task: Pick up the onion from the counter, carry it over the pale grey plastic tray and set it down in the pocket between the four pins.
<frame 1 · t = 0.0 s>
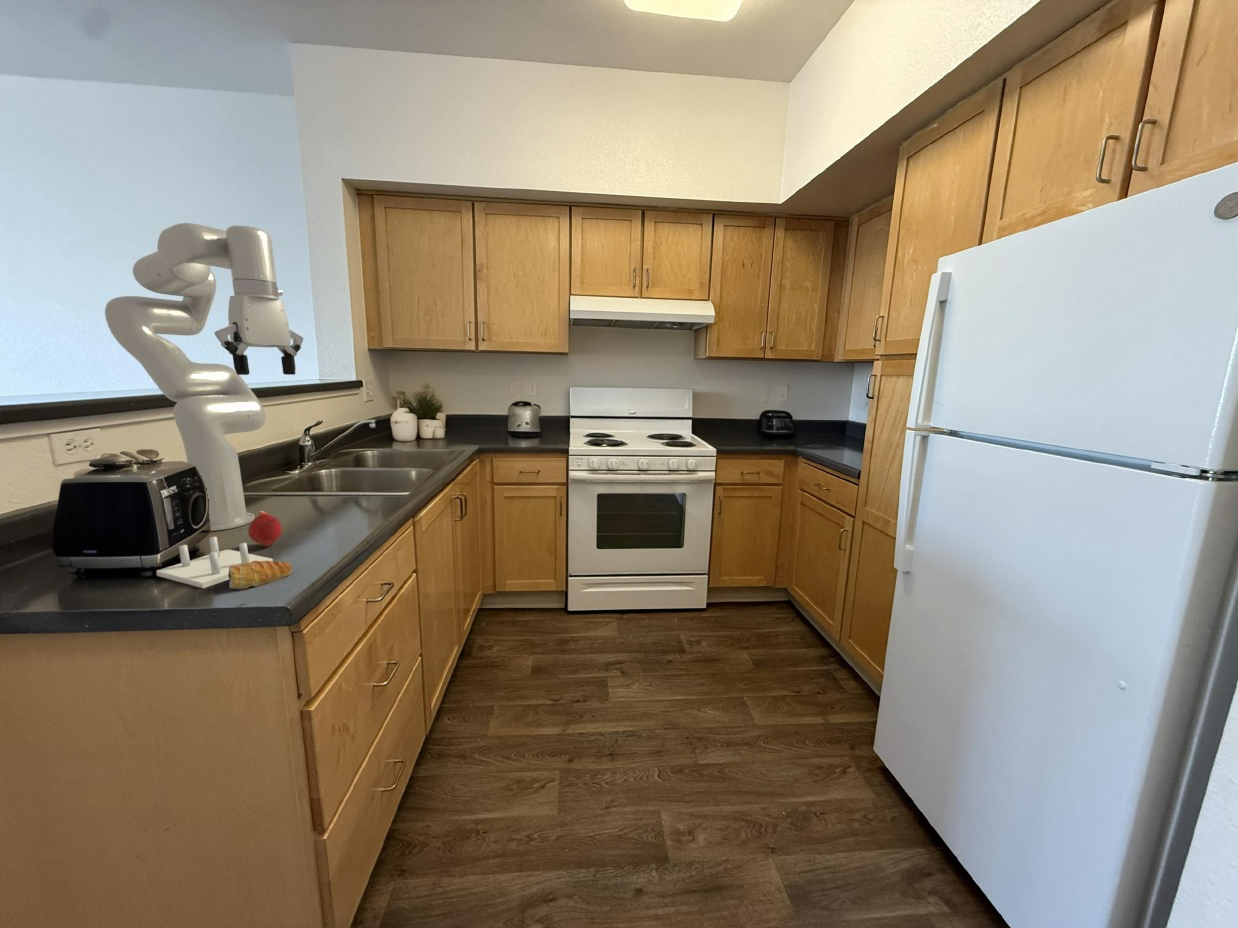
hand: (267, 374, 105), 37 cm above the countertop, tool pointing down, fingers open, 9 cm apart
pin tray: (217, 569, 93), on the countertop
onion: (267, 547, 105), on the countertop
pastry: (256, 582, 88), on the countertop
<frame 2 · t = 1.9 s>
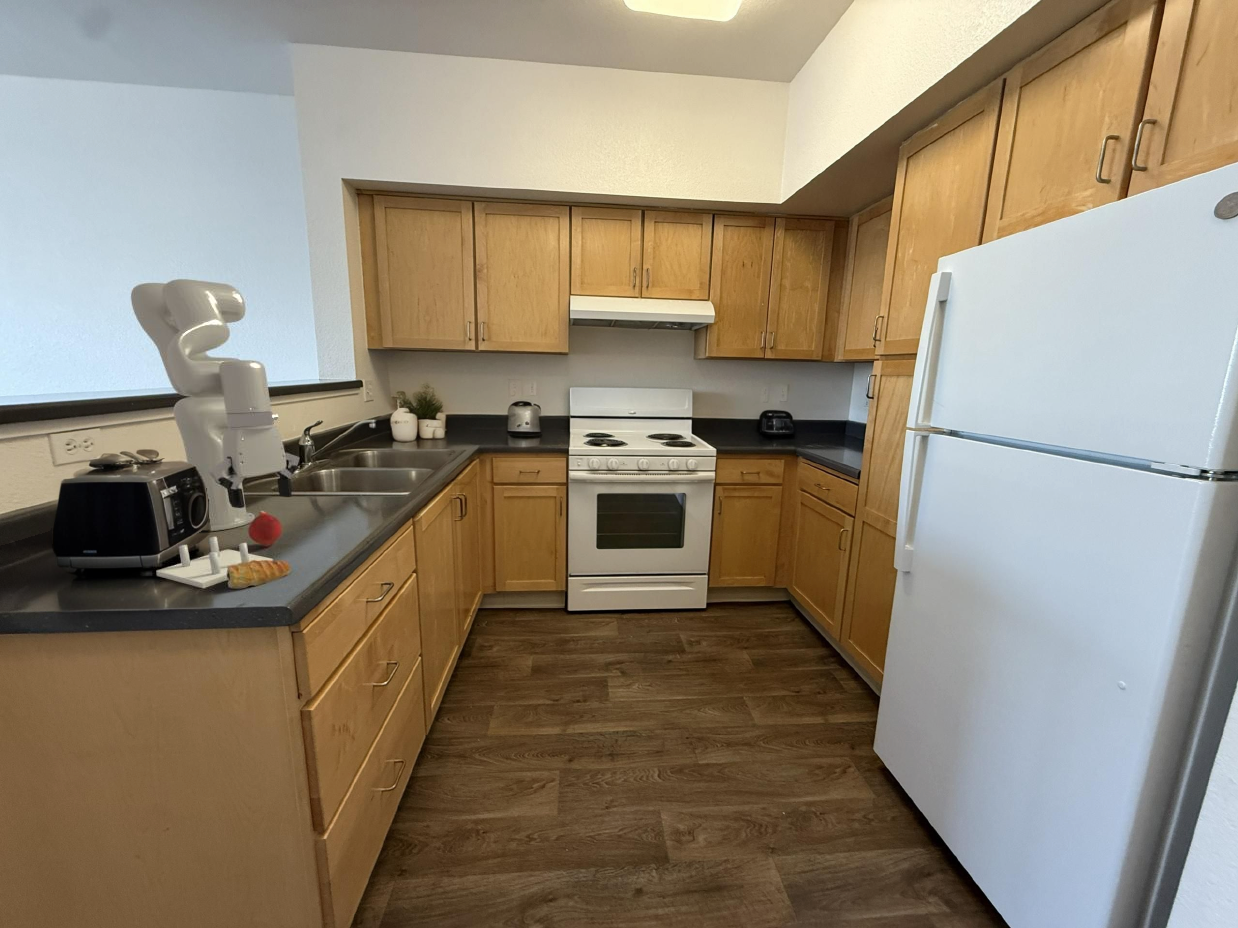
hand: (263, 501, 103), 10 cm above the countertop, tool pointing down, fingers open, 9 cm apart
nothing on the countertop moved.
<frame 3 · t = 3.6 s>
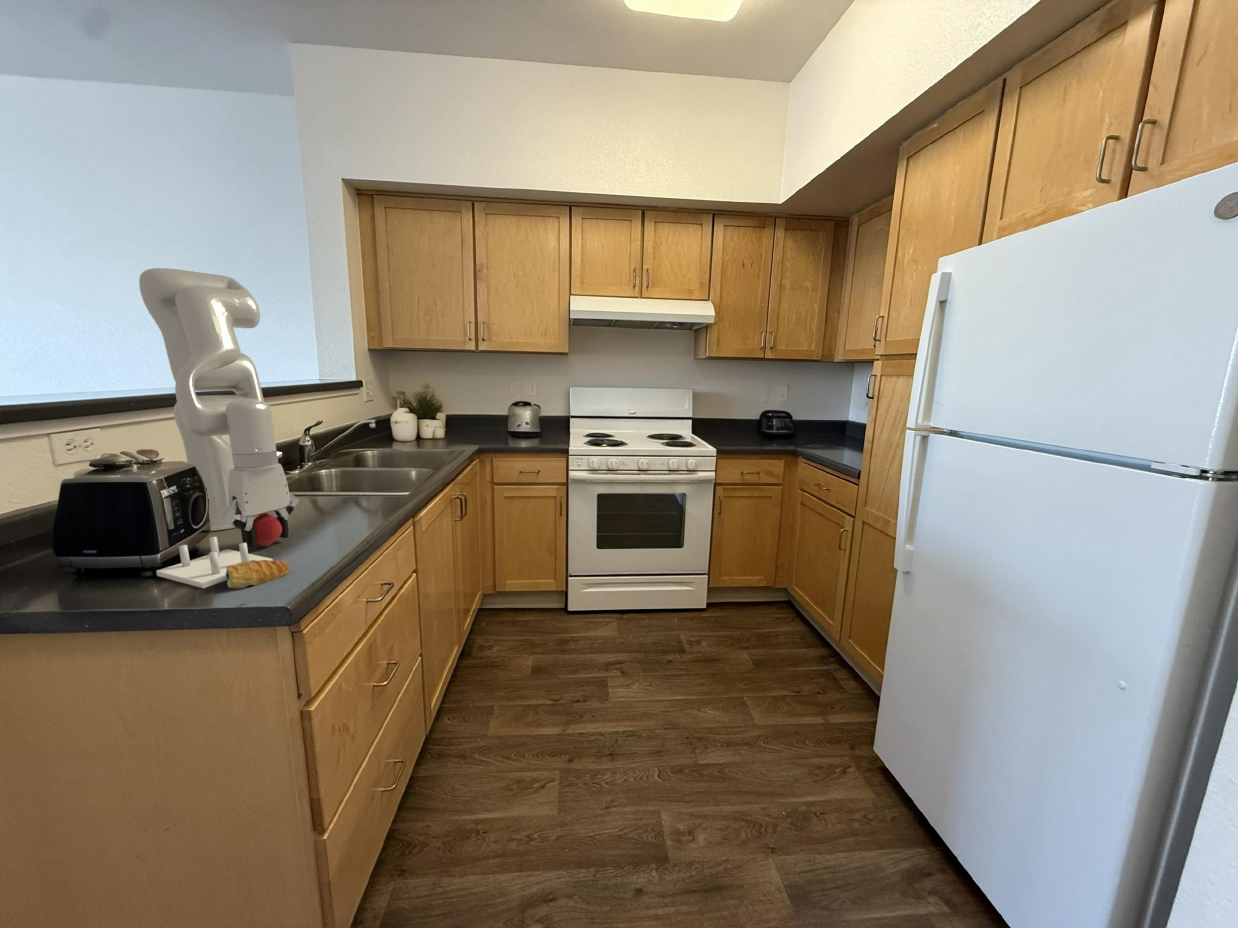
hand: (267, 541, 105), 1 cm above the countertop, tool pointing down, fingers closed on onion, 5 cm apart
onion: (267, 547, 105), on the countertop, touching gripper
everything else where it was.
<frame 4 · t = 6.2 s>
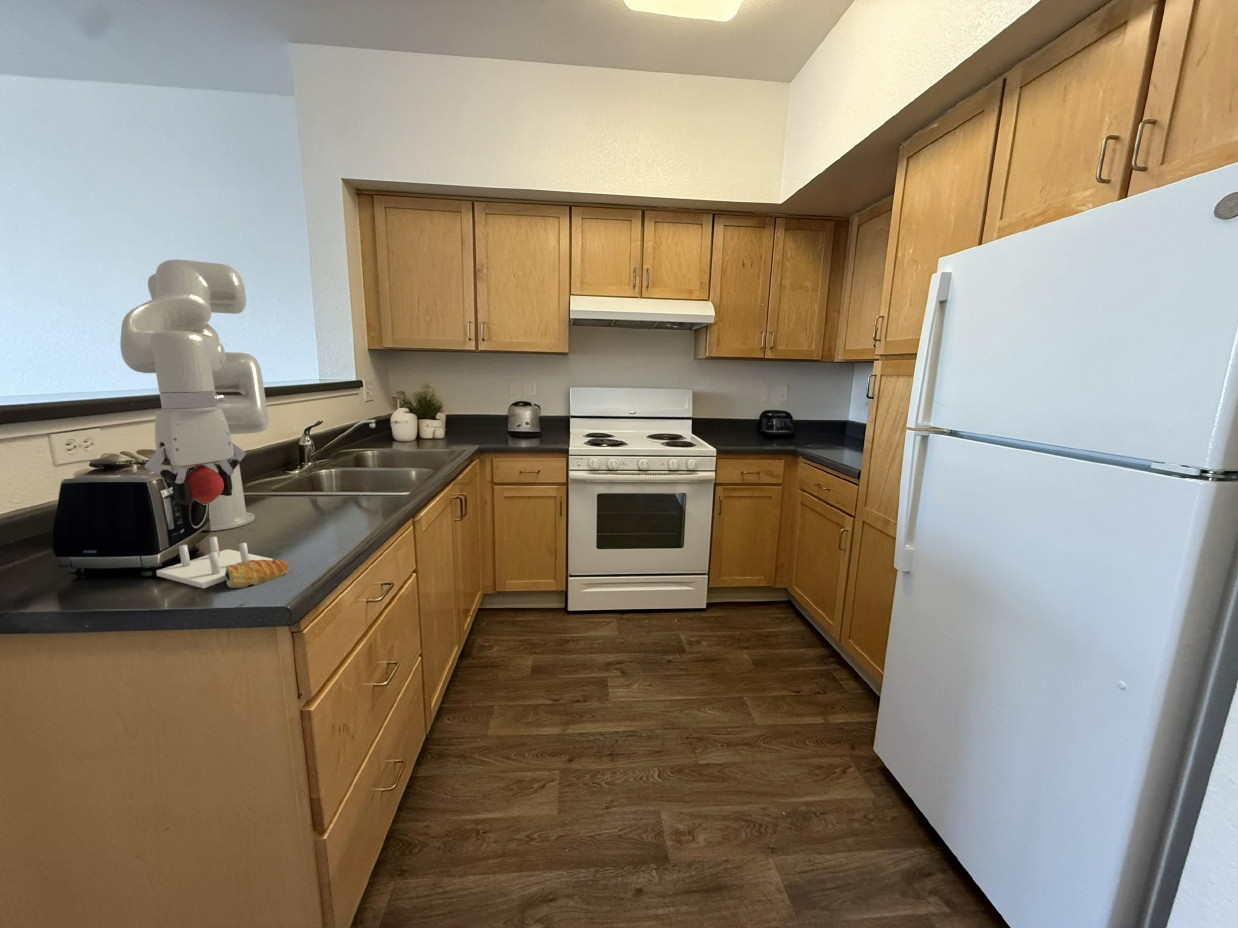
hand: (205, 498, 90), 14 cm above the countertop, tool pointing down, fingers closed on onion, 5 cm apart
onion: (206, 505, 91), point 13 cm above the countertop, touching gripper
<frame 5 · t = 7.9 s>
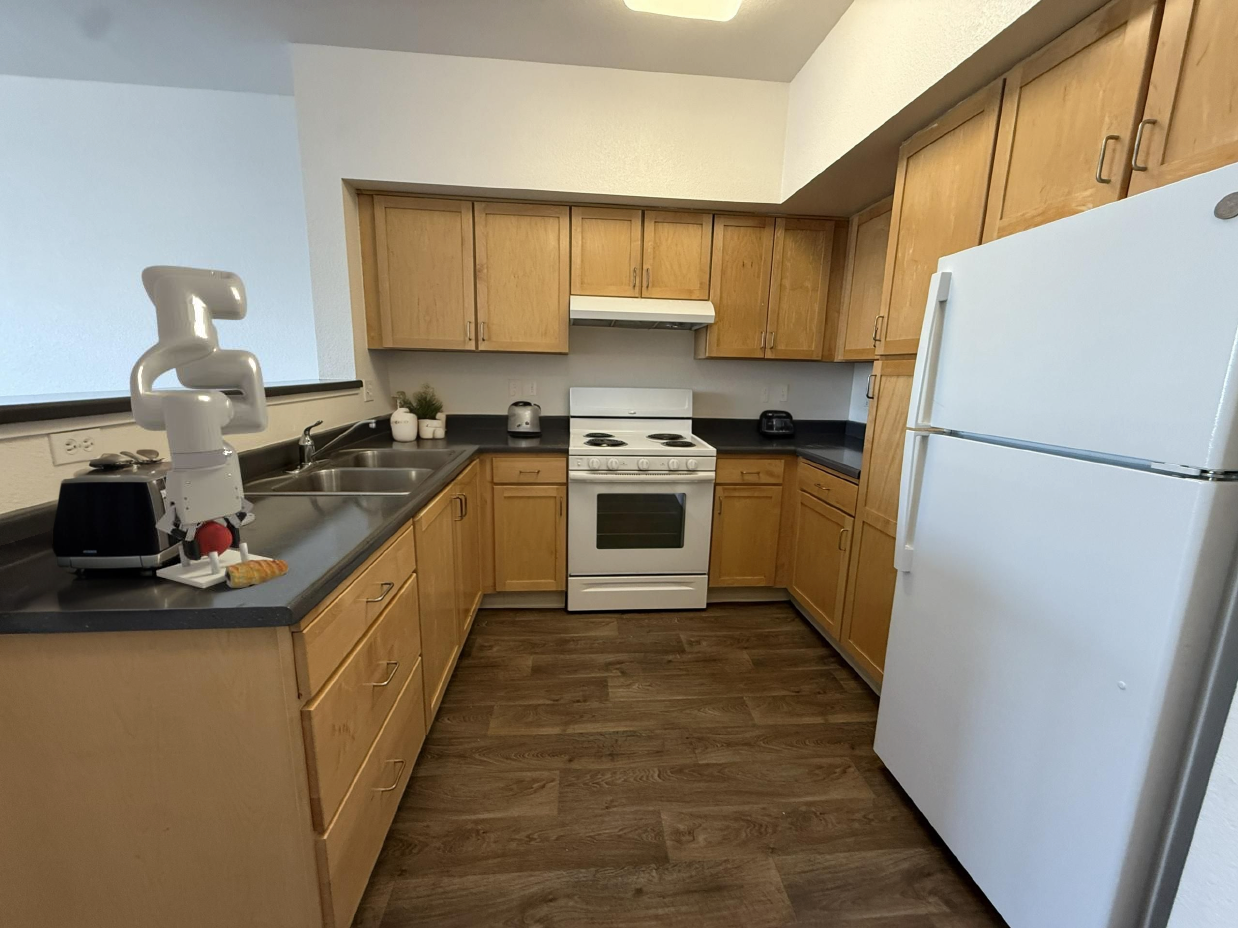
hand: (214, 552, 92), 4 cm above the countertop, tool pointing down, fingers closed on onion, 5 cm apart
onion: (215, 559, 93), point 2 cm above the countertop, touching gripper
when the fingers open (3 cm above the countertop, at t = 8.9 s): onion stays where it is, resting on pin tray.
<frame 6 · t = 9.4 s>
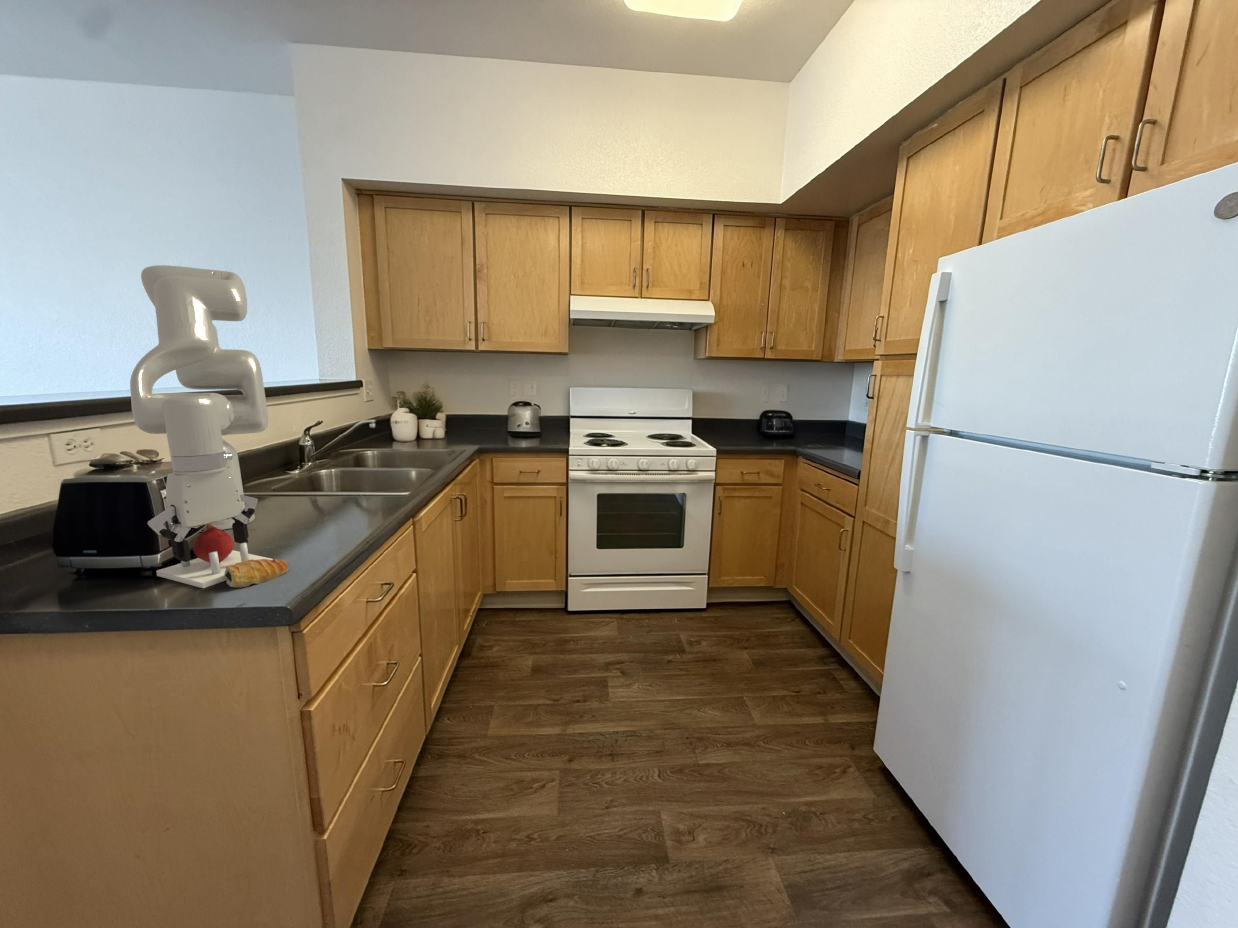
hand: (214, 551, 92), 4 cm above the countertop, tool pointing down, fingers open, 9 cm apart
onion: (217, 565, 93), point 1 cm above the countertop, touching pin tray
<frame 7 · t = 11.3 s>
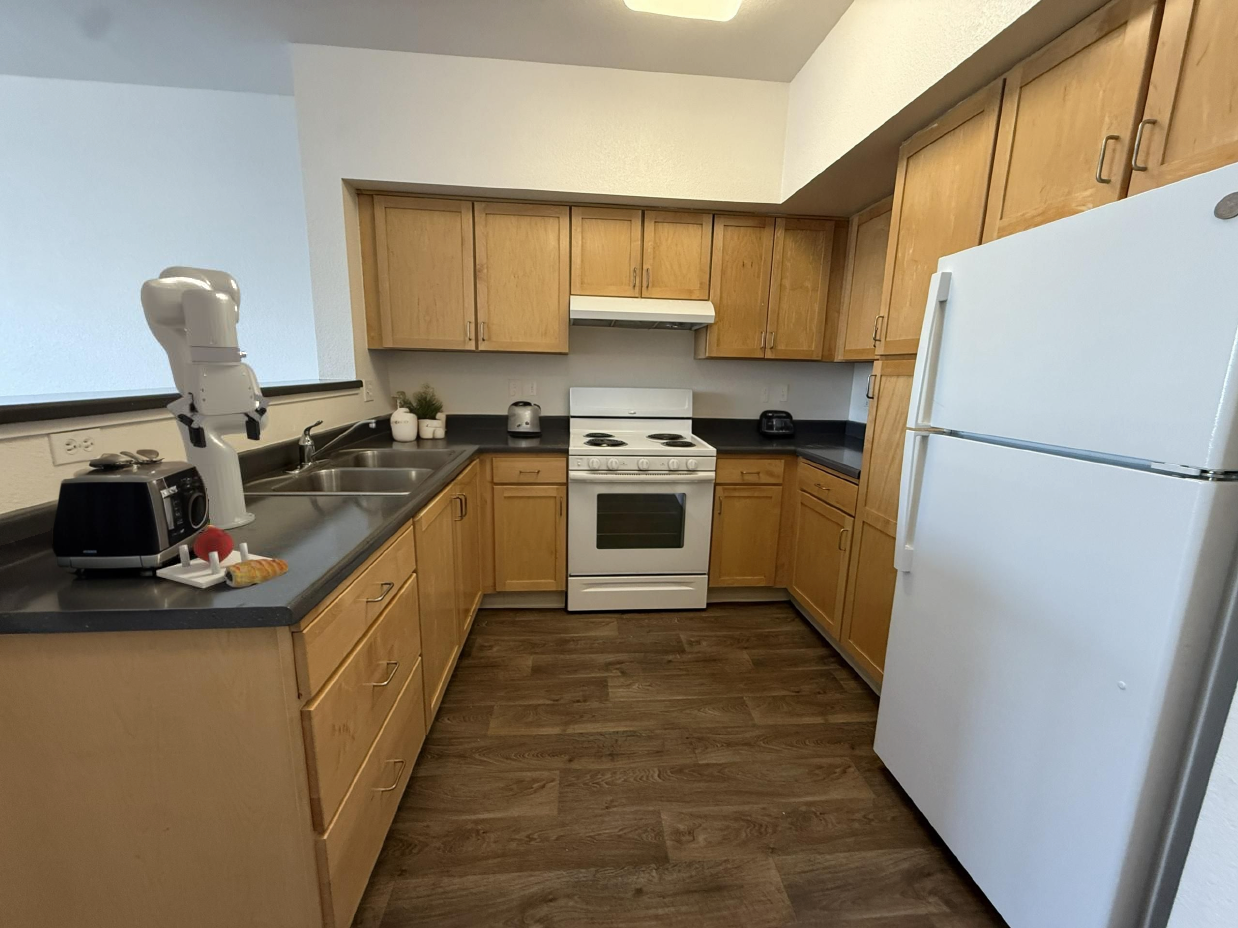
hand: (228, 443, 98), 23 cm above the countertop, tool pointing down, fingers open, 9 cm apart
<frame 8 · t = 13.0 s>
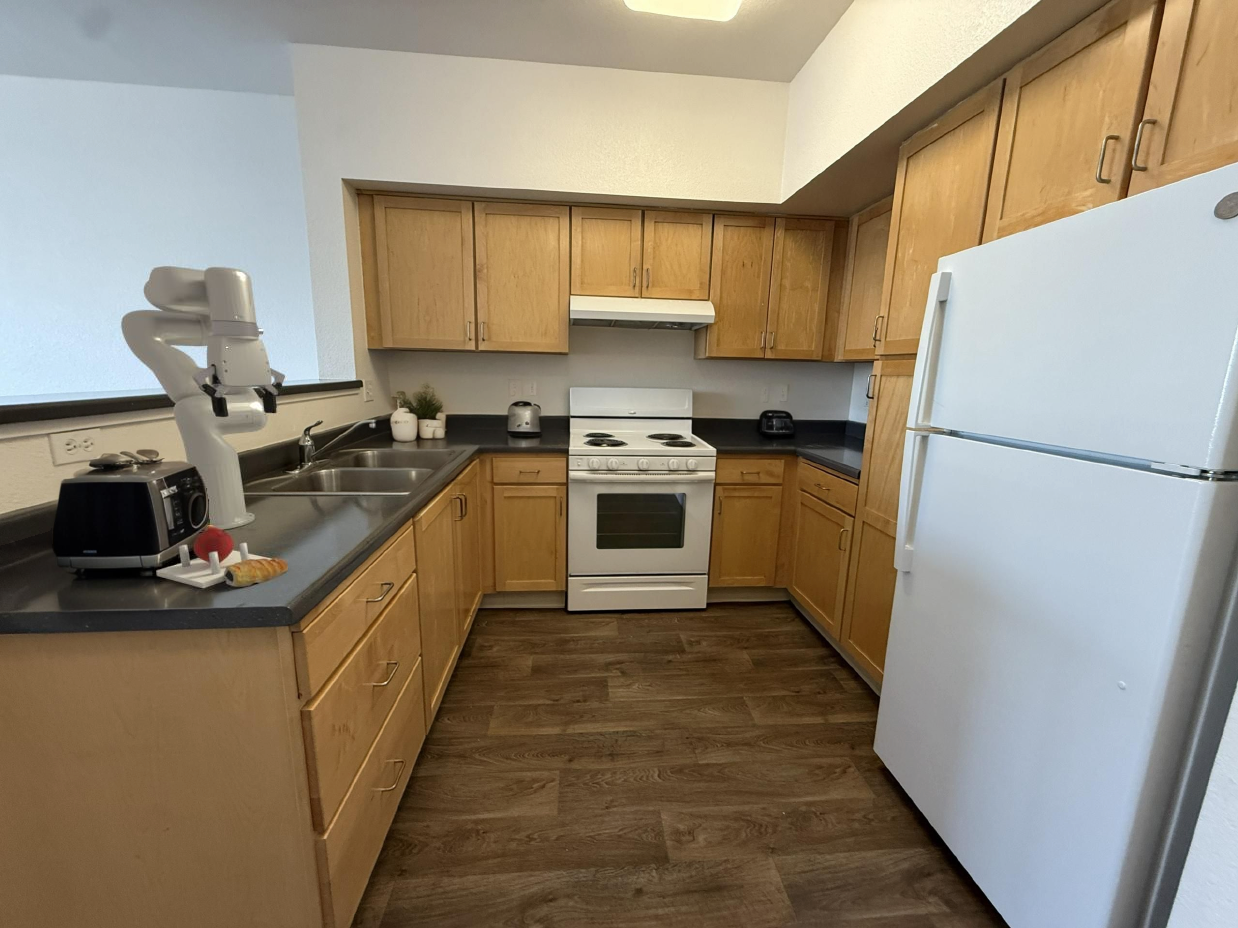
hand: (247, 414, 103), 28 cm above the countertop, tool pointing down, fingers open, 9 cm apart
at the end: onion inside the target area on the pin tray (0.2 cm from its centre), point 0.8 cm above the pin tray's base; the gripper is holding nothing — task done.
